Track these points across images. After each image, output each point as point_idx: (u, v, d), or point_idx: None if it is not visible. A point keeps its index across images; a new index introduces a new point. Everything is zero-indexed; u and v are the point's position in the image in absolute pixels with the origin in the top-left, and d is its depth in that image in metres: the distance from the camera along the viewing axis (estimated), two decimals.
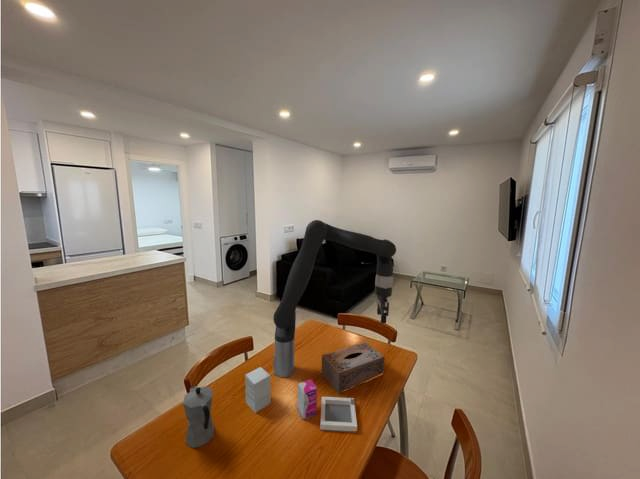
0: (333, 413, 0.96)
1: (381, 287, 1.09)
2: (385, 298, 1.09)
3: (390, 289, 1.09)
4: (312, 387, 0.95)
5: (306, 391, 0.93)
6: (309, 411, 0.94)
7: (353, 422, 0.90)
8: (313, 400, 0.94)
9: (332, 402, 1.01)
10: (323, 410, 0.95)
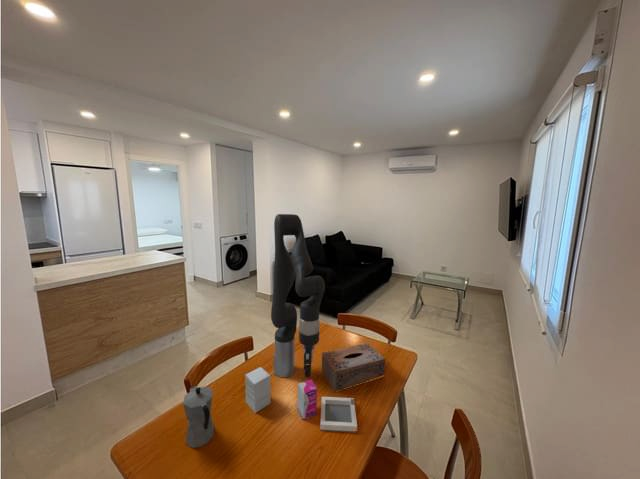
0: (333, 413, 0.96)
1: (303, 334, 0.89)
2: (309, 347, 0.89)
3: (315, 336, 0.90)
4: (312, 387, 0.95)
5: (306, 391, 0.93)
6: (309, 411, 0.94)
7: (353, 422, 0.90)
8: (313, 400, 0.94)
9: (332, 402, 1.01)
10: (323, 410, 0.95)
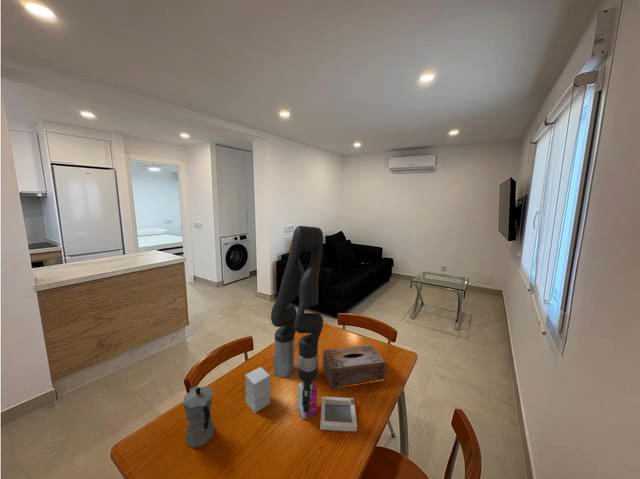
0: (333, 413, 0.96)
1: (302, 370, 0.91)
2: (307, 383, 0.91)
3: (313, 372, 0.91)
4: (312, 387, 0.95)
5: None
6: (309, 411, 0.94)
7: (353, 422, 0.90)
8: (313, 400, 0.94)
9: (332, 402, 1.01)
10: (323, 410, 0.95)
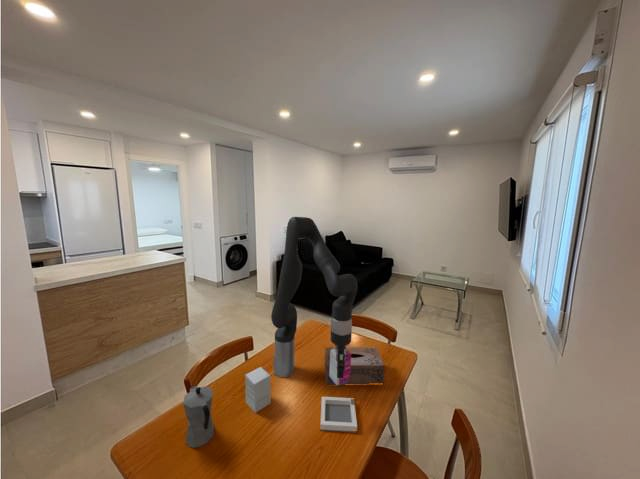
0: (333, 413, 0.96)
1: (336, 334, 0.87)
2: (342, 347, 0.88)
3: (348, 336, 0.88)
4: None
5: None
6: (342, 378, 0.91)
7: (353, 422, 0.90)
8: (347, 366, 0.91)
9: (332, 402, 1.01)
10: (323, 410, 0.95)
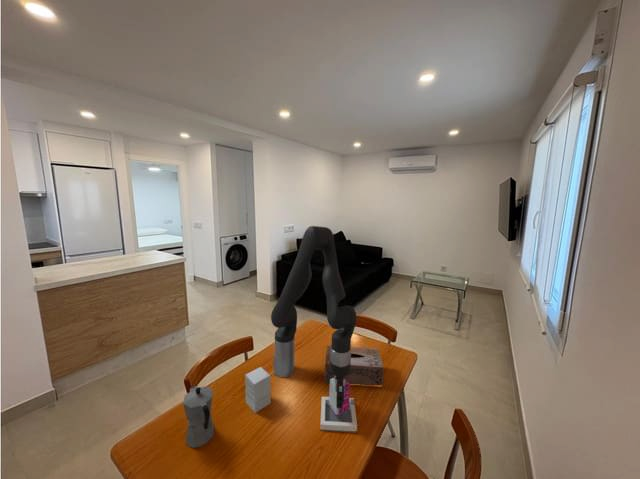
0: (333, 413, 0.96)
1: (336, 365, 0.89)
2: (341, 378, 0.89)
3: (347, 367, 0.90)
4: None
5: None
6: None
7: (353, 422, 0.90)
8: (346, 395, 0.92)
9: None
10: (323, 410, 0.95)
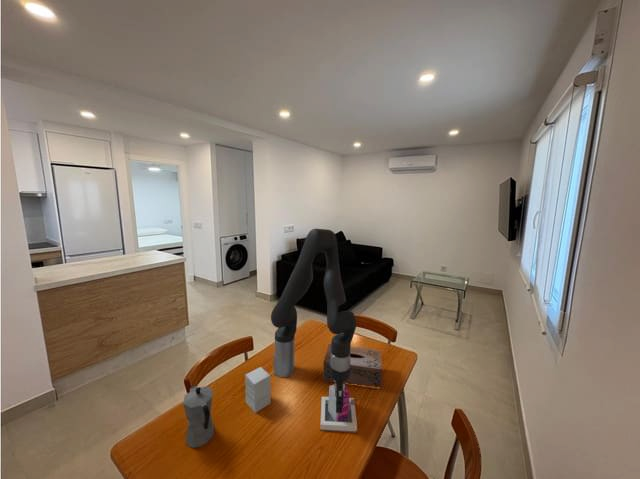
0: None
1: (335, 370, 0.89)
2: (340, 383, 0.90)
3: (347, 372, 0.90)
4: (344, 390, 0.93)
5: None
6: (341, 414, 0.92)
7: (353, 422, 0.90)
8: (345, 403, 0.93)
9: None
10: (323, 410, 0.95)
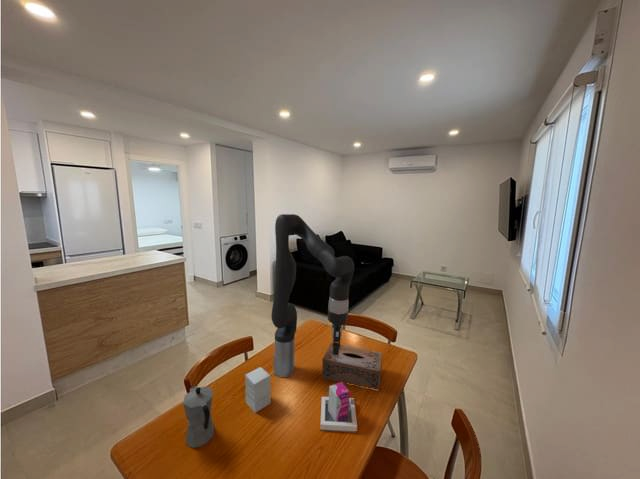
0: None
1: (333, 313, 0.92)
2: (338, 326, 0.92)
3: (344, 315, 0.92)
4: (344, 390, 0.93)
5: (338, 394, 0.91)
6: (341, 414, 0.93)
7: (353, 422, 0.90)
8: (345, 403, 0.93)
9: None
10: (323, 410, 0.95)
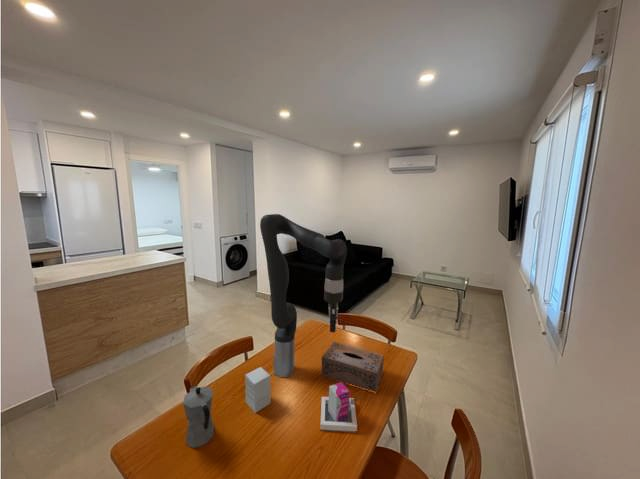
0: None
1: (329, 292, 0.98)
2: (334, 304, 0.98)
3: (340, 294, 0.98)
4: (344, 390, 0.93)
5: (338, 394, 0.91)
6: (341, 414, 0.93)
7: (353, 422, 0.90)
8: (345, 403, 0.93)
9: None
10: (323, 410, 0.95)
